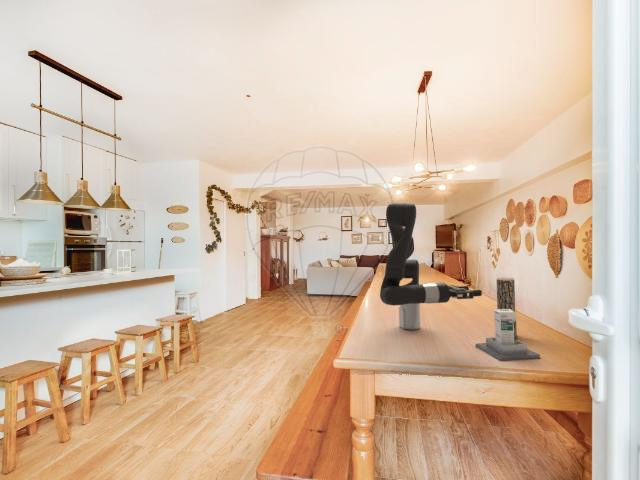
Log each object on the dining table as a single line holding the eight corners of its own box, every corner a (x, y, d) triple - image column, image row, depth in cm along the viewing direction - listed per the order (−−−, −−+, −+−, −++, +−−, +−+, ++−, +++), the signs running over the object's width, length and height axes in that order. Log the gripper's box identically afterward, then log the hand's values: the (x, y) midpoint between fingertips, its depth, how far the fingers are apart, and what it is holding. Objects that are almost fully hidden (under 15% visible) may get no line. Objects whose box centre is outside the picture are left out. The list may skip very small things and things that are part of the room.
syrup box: (500, 351, 118) (499, 311, 118) (495, 345, 124) (494, 308, 124) (517, 351, 117) (516, 311, 117) (511, 346, 122) (510, 308, 122)
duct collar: (500, 360, 112) (499, 348, 112) (475, 346, 127) (475, 336, 127) (540, 358, 113) (539, 346, 113) (511, 344, 128) (510, 333, 128)
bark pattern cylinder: (518, 337, 136) (516, 279, 136) (501, 337, 137) (499, 279, 138) (512, 333, 143) (510, 277, 143) (495, 332, 144) (494, 277, 144)
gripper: (442, 286, 113) (485, 283, 115) (425, 280, 127) (464, 278, 129) (443, 307, 113) (486, 304, 115) (426, 299, 128) (464, 296, 129)
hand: (474, 290), depth 122 cm, fingers open, 8 cm apart
